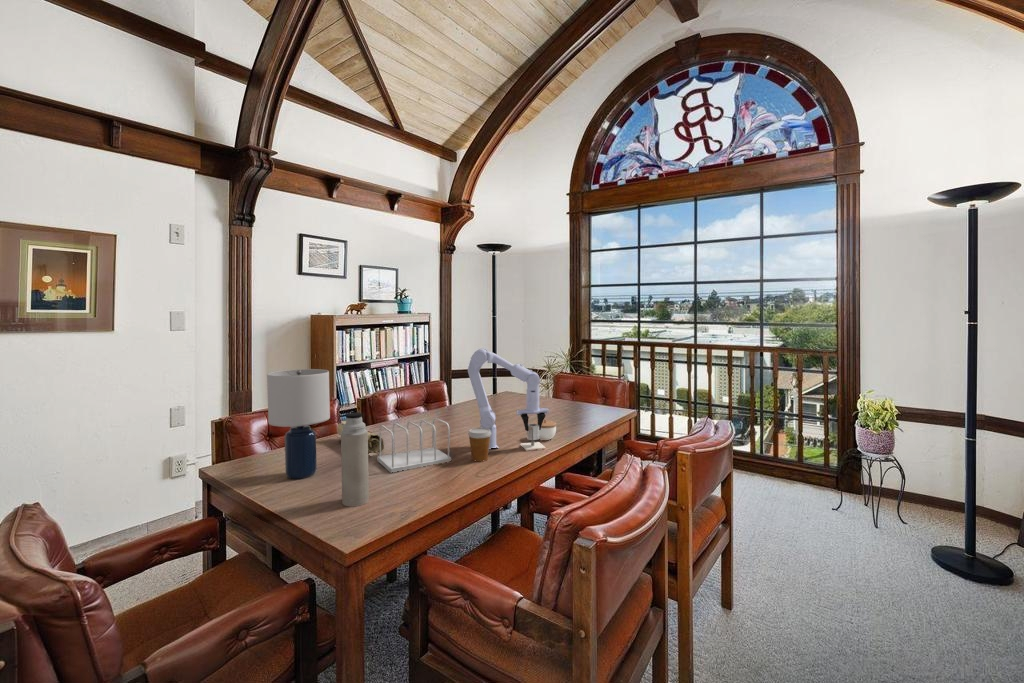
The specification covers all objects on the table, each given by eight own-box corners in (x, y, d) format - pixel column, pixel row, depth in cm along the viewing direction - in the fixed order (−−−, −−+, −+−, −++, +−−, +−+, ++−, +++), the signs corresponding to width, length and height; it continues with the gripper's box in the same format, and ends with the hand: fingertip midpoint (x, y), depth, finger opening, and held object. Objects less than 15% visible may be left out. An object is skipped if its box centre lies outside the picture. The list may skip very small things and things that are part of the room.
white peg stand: (526, 451, 195) (526, 442, 195) (520, 445, 204) (520, 436, 204) (545, 449, 198) (545, 440, 197) (539, 444, 206) (539, 435, 206)
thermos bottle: (347, 496, 146) (345, 411, 145) (371, 496, 146) (370, 410, 145) (338, 506, 138) (336, 416, 137) (364, 506, 139) (363, 416, 137)
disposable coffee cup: (464, 457, 186) (464, 429, 186) (485, 454, 191) (485, 426, 190) (473, 464, 178) (473, 434, 177) (495, 461, 182) (495, 431, 182)
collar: (529, 440, 197) (529, 426, 197) (525, 437, 202) (525, 424, 202) (540, 439, 198) (540, 425, 198) (536, 436, 203) (536, 423, 203)
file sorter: (390, 473, 168) (390, 432, 167) (376, 461, 182) (376, 423, 181) (451, 462, 181) (451, 423, 181) (434, 451, 196) (434, 415, 195)
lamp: (274, 469, 172) (271, 368, 170) (331, 463, 179) (329, 366, 177) (266, 488, 153) (262, 374, 151) (330, 481, 160) (328, 372, 158)
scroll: (358, 433, 218) (350, 415, 215) (389, 449, 193) (381, 429, 190) (338, 445, 212) (329, 427, 209) (368, 463, 187) (358, 443, 184)
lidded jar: (531, 441, 211) (531, 421, 211) (536, 435, 222) (536, 416, 221) (553, 443, 208) (553, 423, 208) (558, 437, 218) (558, 418, 218)
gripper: (519, 402, 194) (519, 433, 194) (551, 400, 198) (551, 431, 198) (515, 399, 201) (515, 429, 201) (546, 397, 204) (545, 427, 205)
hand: (532, 430), depth 200 cm, fingers closed on collar, 5 cm apart
